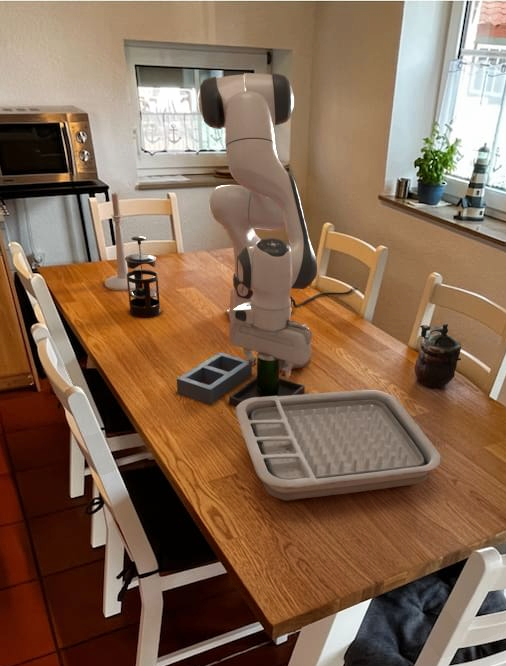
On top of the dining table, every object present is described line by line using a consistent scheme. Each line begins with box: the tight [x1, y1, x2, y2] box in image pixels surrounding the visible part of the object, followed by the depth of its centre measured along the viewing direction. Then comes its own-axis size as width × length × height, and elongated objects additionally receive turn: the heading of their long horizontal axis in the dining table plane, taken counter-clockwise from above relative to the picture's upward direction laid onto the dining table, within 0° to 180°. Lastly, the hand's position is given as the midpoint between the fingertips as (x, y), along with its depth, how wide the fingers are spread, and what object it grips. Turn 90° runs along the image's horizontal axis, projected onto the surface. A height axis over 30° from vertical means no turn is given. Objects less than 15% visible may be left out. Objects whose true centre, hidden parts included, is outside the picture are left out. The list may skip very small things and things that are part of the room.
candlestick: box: [104, 192, 136, 292], centre depth 194 cm, size 13×13×30 cm
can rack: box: [176, 351, 253, 405], centre depth 146 cm, size 18×10×4 cm, turn 153°
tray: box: [228, 376, 306, 408], centre depth 142 cm, size 15×12×2 cm
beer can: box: [256, 352, 281, 397], centre depth 139 cm, size 5×5×12 cm
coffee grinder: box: [414, 322, 462, 389], centre depth 151 cm, size 13×15×18 cm
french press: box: [125, 235, 162, 319], centre depth 177 cm, size 12×9×23 cm
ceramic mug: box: [280, 357, 312, 371], centre depth 157 cm, size 11×8×8 cm
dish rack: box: [235, 389, 442, 501], centre depth 121 cm, size 32×37×8 cm
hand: (268, 370), depth 139 cm, fingers open, 8 cm apart
